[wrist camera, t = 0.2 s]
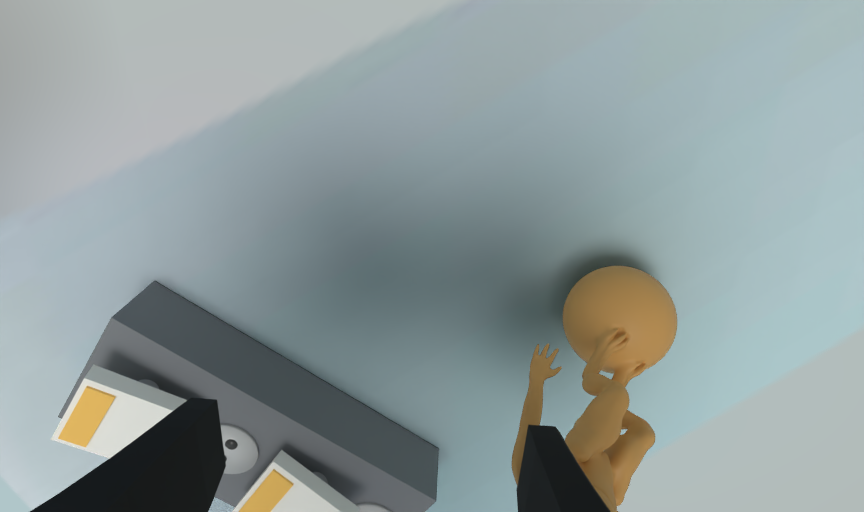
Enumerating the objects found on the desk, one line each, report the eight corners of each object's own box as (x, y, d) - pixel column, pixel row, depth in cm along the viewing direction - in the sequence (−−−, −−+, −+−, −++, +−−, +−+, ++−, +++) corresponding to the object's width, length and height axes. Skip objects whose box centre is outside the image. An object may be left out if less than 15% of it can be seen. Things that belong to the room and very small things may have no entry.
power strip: (438, 449, 25) (435, 506, 22) (370, 516, 27) (360, 576, 24) (154, 280, 22) (107, 321, 19) (103, 372, 24) (53, 421, 21)
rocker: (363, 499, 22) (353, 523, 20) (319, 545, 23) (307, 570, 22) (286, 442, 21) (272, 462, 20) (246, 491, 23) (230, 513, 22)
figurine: (697, 341, 22) (876, 689, 11) (566, 392, 24) (616, 722, 14) (608, 183, 19) (739, 458, 8) (468, 257, 21) (437, 548, 11)
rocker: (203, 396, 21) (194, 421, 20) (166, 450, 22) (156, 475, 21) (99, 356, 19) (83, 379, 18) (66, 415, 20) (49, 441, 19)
